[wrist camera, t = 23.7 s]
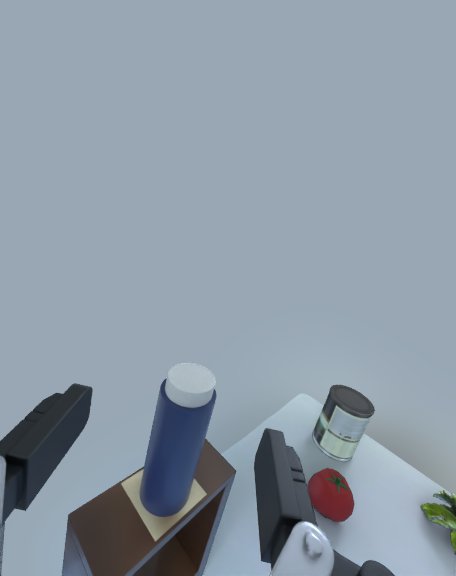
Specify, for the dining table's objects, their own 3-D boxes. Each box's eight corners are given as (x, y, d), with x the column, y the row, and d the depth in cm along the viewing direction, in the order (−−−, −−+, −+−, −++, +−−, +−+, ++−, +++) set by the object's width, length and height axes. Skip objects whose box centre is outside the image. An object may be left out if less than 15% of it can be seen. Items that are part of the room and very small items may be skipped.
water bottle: (195, 509, 26) (228, 394, 22) (141, 523, 24) (168, 398, 20) (183, 462, 31) (210, 359, 27) (137, 470, 28) (159, 360, 25)
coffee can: (303, 430, 69) (321, 386, 65) (330, 424, 74) (348, 382, 70) (333, 466, 60) (356, 417, 56) (361, 456, 65) (384, 411, 61)
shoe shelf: (78, 729, 24) (101, 596, 19) (54, 642, 29) (68, 513, 23) (201, 577, 37) (237, 470, 31) (172, 532, 41) (198, 430, 35)
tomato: (327, 482, 56) (338, 457, 54) (355, 525, 49) (370, 497, 47) (296, 489, 53) (308, 462, 51) (322, 535, 46) (336, 506, 44)
